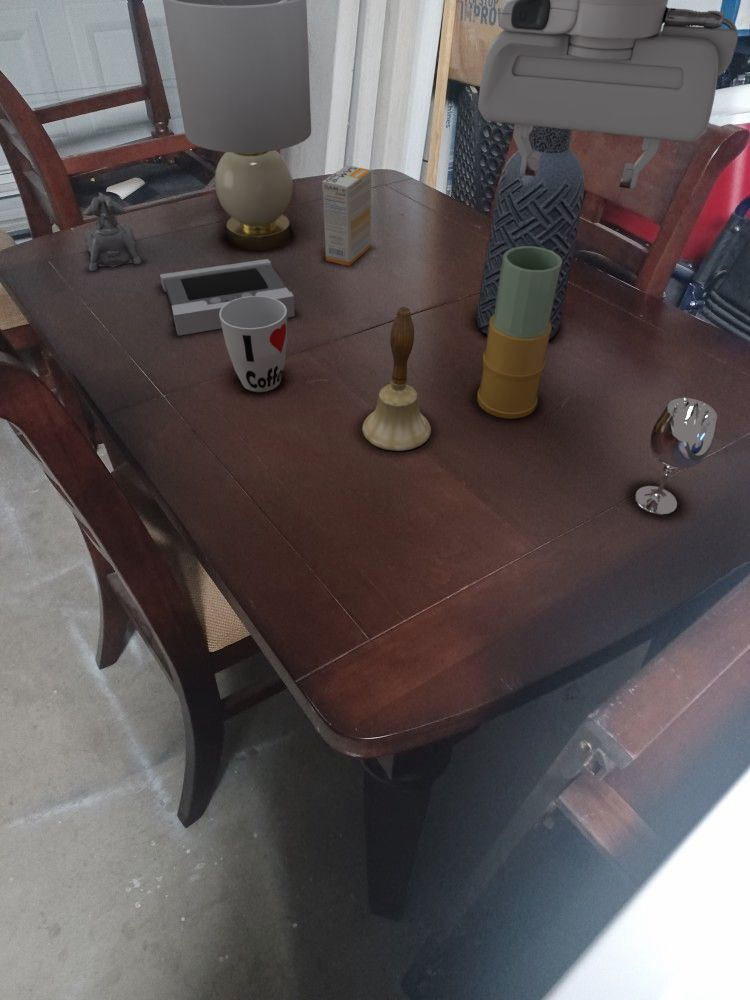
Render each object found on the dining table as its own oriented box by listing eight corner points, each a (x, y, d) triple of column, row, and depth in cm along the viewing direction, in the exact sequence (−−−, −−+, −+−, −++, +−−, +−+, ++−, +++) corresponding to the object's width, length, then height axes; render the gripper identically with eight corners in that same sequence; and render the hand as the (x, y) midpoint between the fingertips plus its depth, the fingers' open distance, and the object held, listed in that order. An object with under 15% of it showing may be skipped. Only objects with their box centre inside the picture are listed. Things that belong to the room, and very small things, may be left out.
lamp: (177, 244, 120) (130, -6, 96) (251, 206, 133) (226, -23, 108) (269, 274, 113) (244, 12, 88) (338, 231, 125) (333, -9, 101)
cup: (242, 405, 87) (232, 335, 80) (221, 372, 92) (210, 304, 86) (301, 388, 90) (297, 319, 83) (278, 358, 95) (272, 290, 88)
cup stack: (541, 391, 91) (558, 315, 83) (529, 424, 85) (546, 346, 78) (485, 378, 92) (496, 302, 85) (469, 410, 87) (480, 333, 80)
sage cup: (552, 316, 83) (566, 251, 77) (542, 343, 78) (556, 276, 73) (500, 306, 84) (510, 242, 79) (487, 331, 80) (497, 265, 74)
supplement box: (347, 242, 122) (346, 163, 113) (371, 248, 120) (372, 168, 111) (324, 261, 117) (320, 180, 108) (349, 267, 115) (348, 185, 106)
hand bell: (383, 401, 88) (387, 284, 77) (442, 422, 85) (454, 304, 74) (349, 437, 83) (347, 316, 72) (410, 460, 80) (418, 339, 69)
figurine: (135, 240, 122) (121, 175, 114) (142, 264, 115) (127, 197, 107) (85, 246, 119) (67, 181, 112) (89, 271, 113) (71, 203, 105)
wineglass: (625, 510, 75) (658, 421, 67) (632, 477, 79) (664, 389, 70) (681, 525, 73) (722, 436, 65) (685, 490, 77) (724, 402, 69)
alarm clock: (173, 315, 96) (156, 256, 106) (179, 343, 100) (161, 283, 110) (293, 296, 101) (265, 241, 111) (294, 323, 104) (267, 268, 114)
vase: (558, 352, 97) (607, 133, 78) (471, 341, 99) (498, 125, 79) (559, 309, 106) (604, 103, 86) (479, 301, 108) (506, 96, 88)
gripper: (746, 6, 57) (693, 183, 66) (500, -8, 62) (484, 157, 72) (745, 19, 52) (689, 206, 62) (481, 3, 58) (467, 177, 67)
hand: (577, 180), depth 67 cm, fingers open, 8 cm apart
